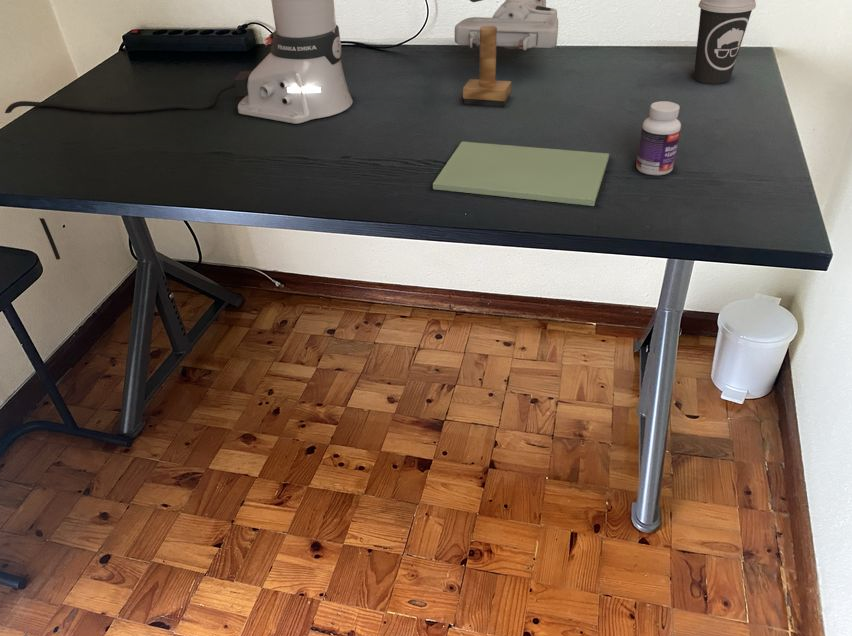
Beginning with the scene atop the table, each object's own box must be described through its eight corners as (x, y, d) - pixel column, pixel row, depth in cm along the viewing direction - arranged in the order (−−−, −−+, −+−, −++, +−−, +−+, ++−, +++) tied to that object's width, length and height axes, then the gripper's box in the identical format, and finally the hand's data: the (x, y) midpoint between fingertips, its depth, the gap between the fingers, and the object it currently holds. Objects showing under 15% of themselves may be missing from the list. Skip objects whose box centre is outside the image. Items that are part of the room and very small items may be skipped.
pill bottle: (667, 179, 108) (678, 115, 102) (631, 172, 111) (640, 109, 105) (677, 164, 112) (689, 102, 106) (641, 158, 114) (651, 97, 108)
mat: (432, 189, 111) (432, 183, 110) (461, 146, 122) (461, 141, 122) (594, 206, 104) (594, 200, 103) (608, 159, 115) (609, 153, 114)
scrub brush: (462, 104, 137) (462, 31, 129) (470, 95, 141) (470, 23, 133) (504, 107, 135) (507, 32, 127) (510, 98, 138) (513, 24, 130)
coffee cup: (743, 73, 140) (763, -12, 131) (732, 89, 134) (752, 1, 125) (692, 67, 144) (708, -16, 135) (678, 83, 138) (694, -3, 129)
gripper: (464, 6, 150) (444, 25, 140) (564, 9, 143) (551, 29, 133) (464, 38, 154) (445, 59, 144) (562, 42, 147) (549, 64, 137)
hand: (497, 45), depth 139 cm, fingers open, 8 cm apart
